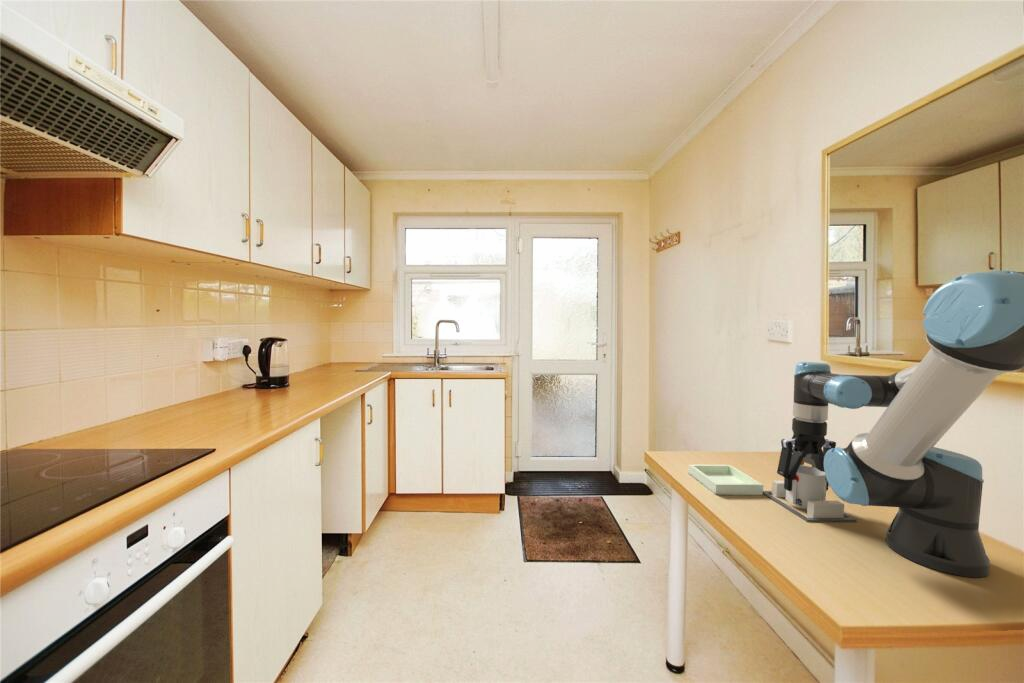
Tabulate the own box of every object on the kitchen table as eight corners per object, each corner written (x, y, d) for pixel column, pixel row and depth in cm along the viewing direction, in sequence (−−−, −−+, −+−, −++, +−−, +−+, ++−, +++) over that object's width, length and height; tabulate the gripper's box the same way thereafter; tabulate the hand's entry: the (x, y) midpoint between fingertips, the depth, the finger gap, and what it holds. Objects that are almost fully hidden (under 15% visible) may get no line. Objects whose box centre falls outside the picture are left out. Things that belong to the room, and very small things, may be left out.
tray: (762, 494, 113) (763, 484, 113) (715, 494, 113) (716, 484, 113) (729, 473, 129) (730, 464, 129) (688, 473, 129) (688, 464, 129)
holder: (856, 521, 99) (857, 506, 98) (806, 521, 98) (807, 506, 98) (803, 492, 116) (804, 479, 115) (760, 492, 115) (761, 479, 115)
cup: (784, 497, 112) (786, 462, 112) (819, 503, 109) (821, 467, 108) (790, 508, 105) (792, 472, 104) (827, 515, 101) (829, 478, 101)
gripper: (834, 416, 110) (829, 495, 111) (763, 415, 109) (759, 495, 110) (858, 423, 102) (853, 508, 103) (783, 422, 102) (778, 508, 103)
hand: (805, 501), depth 107 cm, fingers closed on cup, 8 cm apart
